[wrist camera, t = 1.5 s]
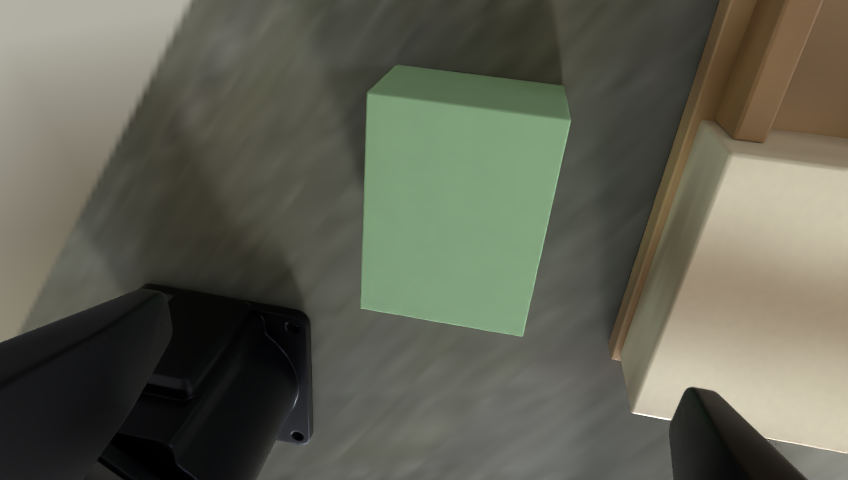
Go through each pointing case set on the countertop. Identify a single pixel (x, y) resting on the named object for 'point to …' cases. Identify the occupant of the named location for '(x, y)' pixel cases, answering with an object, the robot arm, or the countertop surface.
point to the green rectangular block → (458, 194)
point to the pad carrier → (752, 232)
